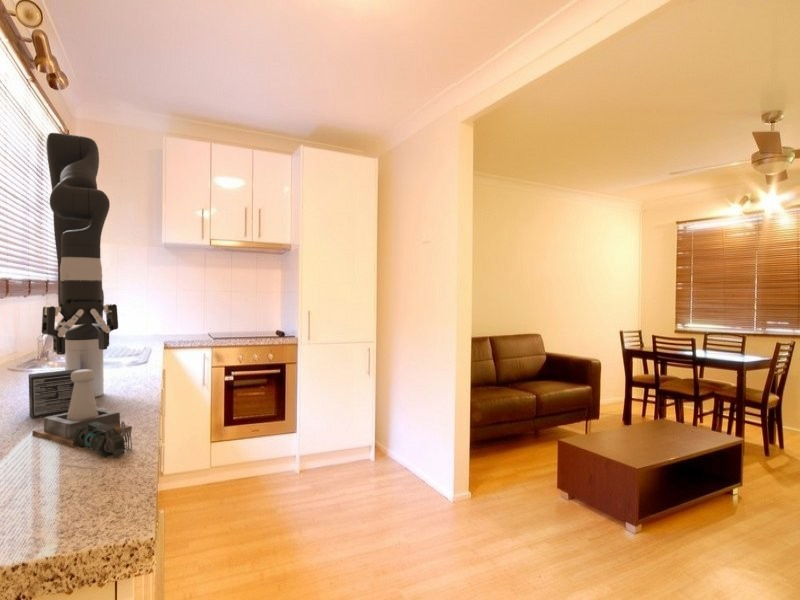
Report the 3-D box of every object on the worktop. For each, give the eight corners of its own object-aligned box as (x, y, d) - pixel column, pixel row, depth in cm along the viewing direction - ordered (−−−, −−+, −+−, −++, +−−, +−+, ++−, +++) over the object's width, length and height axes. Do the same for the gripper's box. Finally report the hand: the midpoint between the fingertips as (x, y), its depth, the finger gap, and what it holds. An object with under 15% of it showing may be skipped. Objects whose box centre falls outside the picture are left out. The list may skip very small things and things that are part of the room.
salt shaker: (81, 433, 95) (81, 373, 95) (59, 431, 96) (59, 371, 96) (104, 425, 101) (104, 368, 100) (83, 423, 102) (83, 367, 102)
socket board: (32, 435, 97) (32, 416, 97) (91, 420, 107) (91, 404, 107) (72, 447, 89) (72, 427, 89) (131, 430, 100) (131, 413, 100)
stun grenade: (72, 450, 89) (106, 465, 82) (69, 420, 89) (102, 432, 81) (106, 439, 95) (140, 452, 87) (103, 410, 94) (137, 421, 87)
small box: (79, 406, 121) (78, 368, 120) (83, 411, 116) (83, 371, 116) (28, 413, 113) (28, 373, 113) (31, 419, 109) (30, 376, 108)
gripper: (105, 279, 106) (106, 346, 106) (34, 278, 93) (35, 354, 93) (124, 279, 102) (125, 349, 103) (53, 278, 89) (54, 357, 90)
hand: (82, 351), depth 98 cm, fingers open, 8 cm apart
